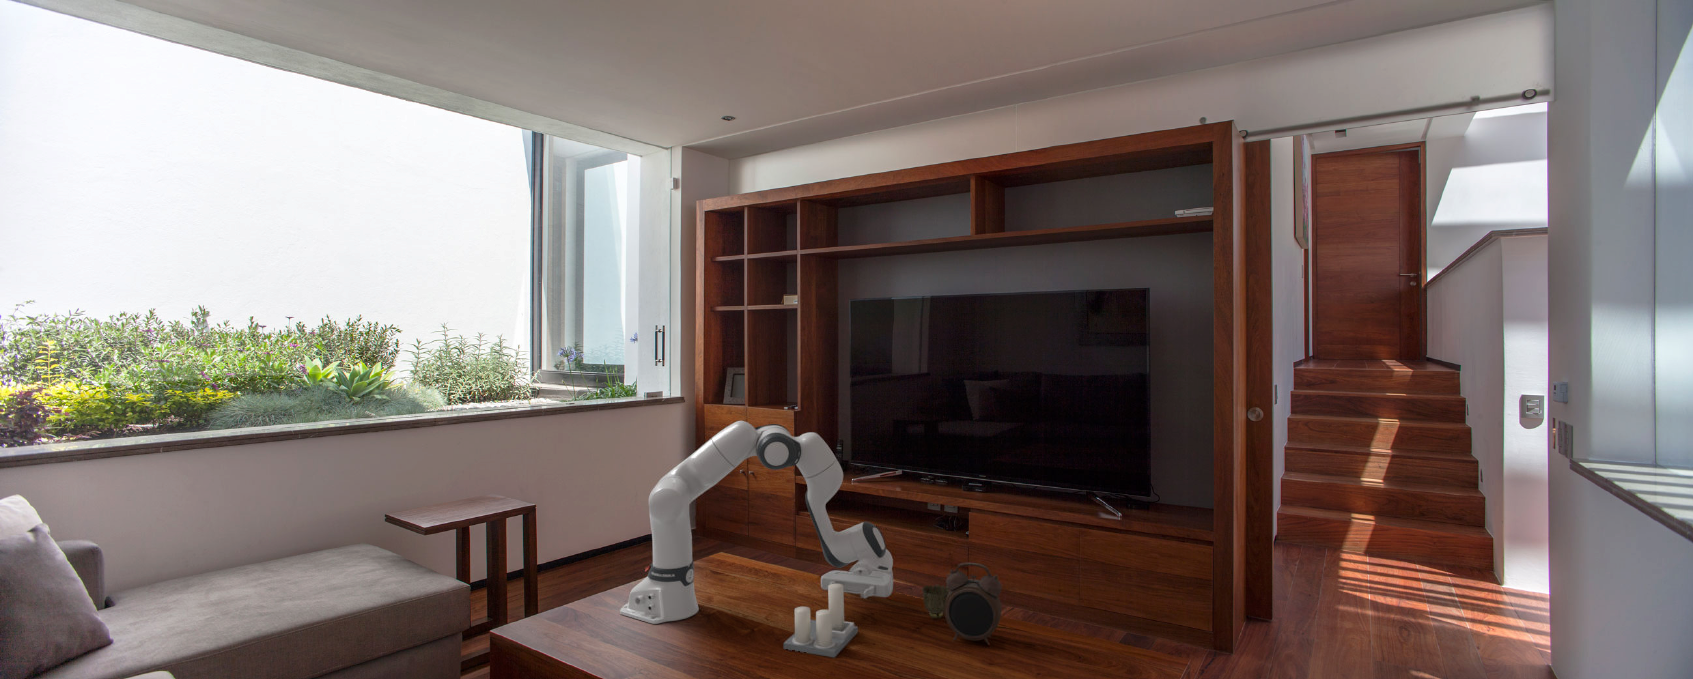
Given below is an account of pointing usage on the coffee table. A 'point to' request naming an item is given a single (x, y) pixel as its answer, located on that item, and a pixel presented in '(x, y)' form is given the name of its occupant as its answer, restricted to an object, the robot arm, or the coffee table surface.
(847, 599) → the coffee table surface
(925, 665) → the coffee table surface
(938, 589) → the cup
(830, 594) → the ivory pin
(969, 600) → the alarm clock
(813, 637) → the pin board
